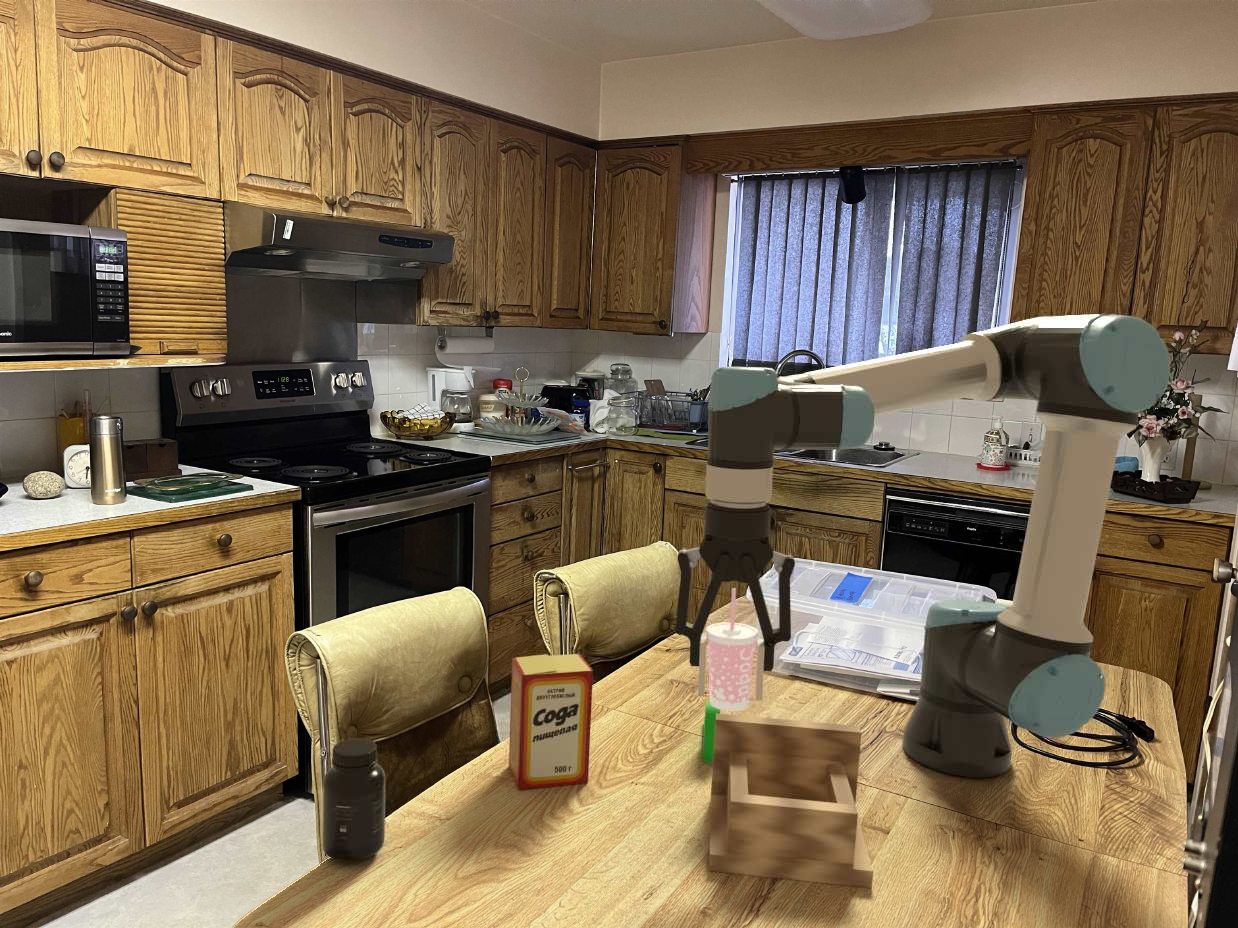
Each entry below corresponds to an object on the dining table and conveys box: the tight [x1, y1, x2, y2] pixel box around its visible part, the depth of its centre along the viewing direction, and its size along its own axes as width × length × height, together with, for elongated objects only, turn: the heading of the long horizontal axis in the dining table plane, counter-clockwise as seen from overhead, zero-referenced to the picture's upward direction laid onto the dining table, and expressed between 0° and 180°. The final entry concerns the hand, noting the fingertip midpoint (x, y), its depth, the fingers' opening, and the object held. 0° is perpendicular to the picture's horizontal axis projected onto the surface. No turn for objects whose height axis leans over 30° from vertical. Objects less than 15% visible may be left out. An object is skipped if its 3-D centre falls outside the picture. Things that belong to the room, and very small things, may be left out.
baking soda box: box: [508, 653, 594, 791], centre depth 124 cm, size 10×6×16 cm
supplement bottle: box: [321, 737, 386, 863], centre depth 104 cm, size 7×7×12 cm
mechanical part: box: [702, 701, 721, 764], centre depth 136 cm, size 12×6×8 cm, turn 174°
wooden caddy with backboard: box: [708, 713, 874, 889], centre depth 110 cm, size 18×16×12 cm
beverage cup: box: [705, 587, 759, 712], centre depth 108 cm, size 6×6×14 cm
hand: (730, 693), depth 109 cm, fingers closed on beverage cup, 6 cm apart
